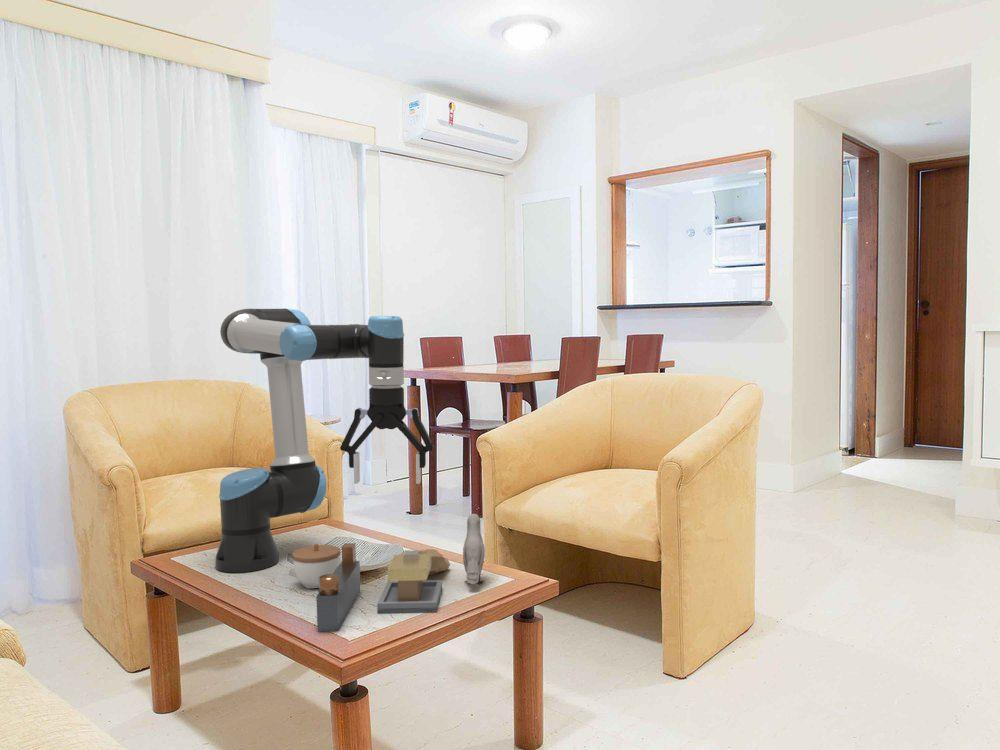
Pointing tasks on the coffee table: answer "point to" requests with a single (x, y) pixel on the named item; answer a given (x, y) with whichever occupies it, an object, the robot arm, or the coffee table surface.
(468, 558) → the bird
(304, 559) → the lidded jar
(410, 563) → the lever cap
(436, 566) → the pottery oil lamp
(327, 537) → the coffee table surface
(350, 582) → the plane
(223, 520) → the robot arm
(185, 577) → the coffee table surface
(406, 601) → the tray
